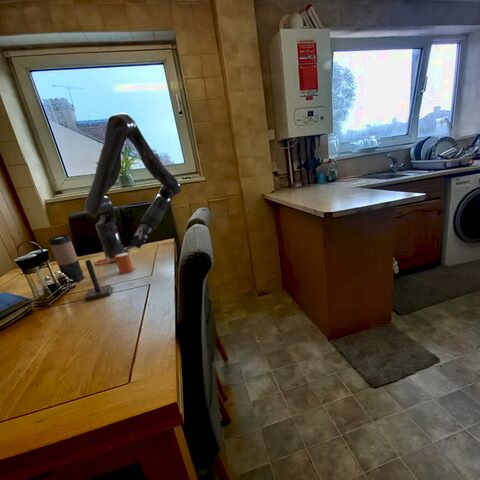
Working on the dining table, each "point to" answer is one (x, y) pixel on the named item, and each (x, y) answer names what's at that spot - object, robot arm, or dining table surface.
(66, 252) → the travel mug
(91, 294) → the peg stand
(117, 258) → the measuring cup
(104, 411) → the dining table surface
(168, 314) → the dining table surface
